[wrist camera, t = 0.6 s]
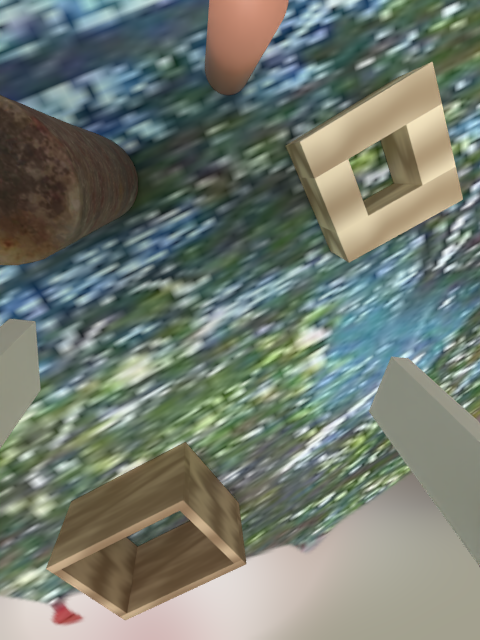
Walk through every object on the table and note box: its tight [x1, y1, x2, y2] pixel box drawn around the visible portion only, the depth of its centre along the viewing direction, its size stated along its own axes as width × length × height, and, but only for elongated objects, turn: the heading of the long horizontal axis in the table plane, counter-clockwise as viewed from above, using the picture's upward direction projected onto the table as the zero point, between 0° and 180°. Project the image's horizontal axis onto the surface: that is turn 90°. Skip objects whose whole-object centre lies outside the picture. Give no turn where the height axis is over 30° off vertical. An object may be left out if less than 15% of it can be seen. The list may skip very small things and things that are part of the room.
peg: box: [205, 0, 288, 95], centre depth 23 cm, size 4×4×14 cm
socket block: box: [286, 62, 463, 262], centre depth 32 cm, size 12×12×5 cm
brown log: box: [0, 95, 138, 265], centre depth 23 cm, size 8×7×20 cm
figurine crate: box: [46, 442, 246, 620], centre depth 47 cm, size 15×19×9 cm
